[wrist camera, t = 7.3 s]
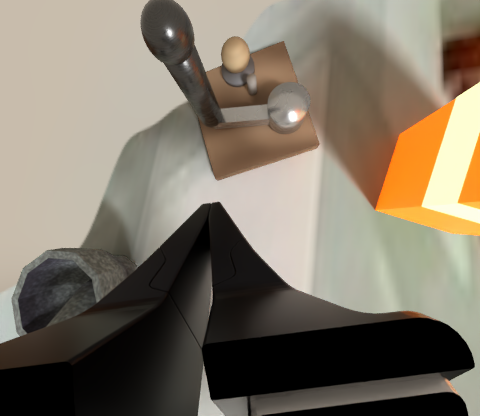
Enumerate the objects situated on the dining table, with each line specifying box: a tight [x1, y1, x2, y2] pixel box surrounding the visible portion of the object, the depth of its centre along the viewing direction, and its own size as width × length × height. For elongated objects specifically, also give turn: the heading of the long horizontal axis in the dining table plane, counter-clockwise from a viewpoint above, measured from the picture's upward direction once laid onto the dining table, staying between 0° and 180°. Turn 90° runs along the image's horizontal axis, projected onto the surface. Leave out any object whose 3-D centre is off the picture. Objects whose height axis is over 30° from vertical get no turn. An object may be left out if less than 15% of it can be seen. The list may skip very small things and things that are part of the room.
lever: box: [141, 0, 310, 134], centre depth 15 cm, size 4×12×12 cm, turn 91°
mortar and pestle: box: [12, 248, 137, 336], centre depth 17 cm, size 11×9×12 cm
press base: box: [197, 37, 319, 180], centre depth 20 cm, size 13×12×5 cm
